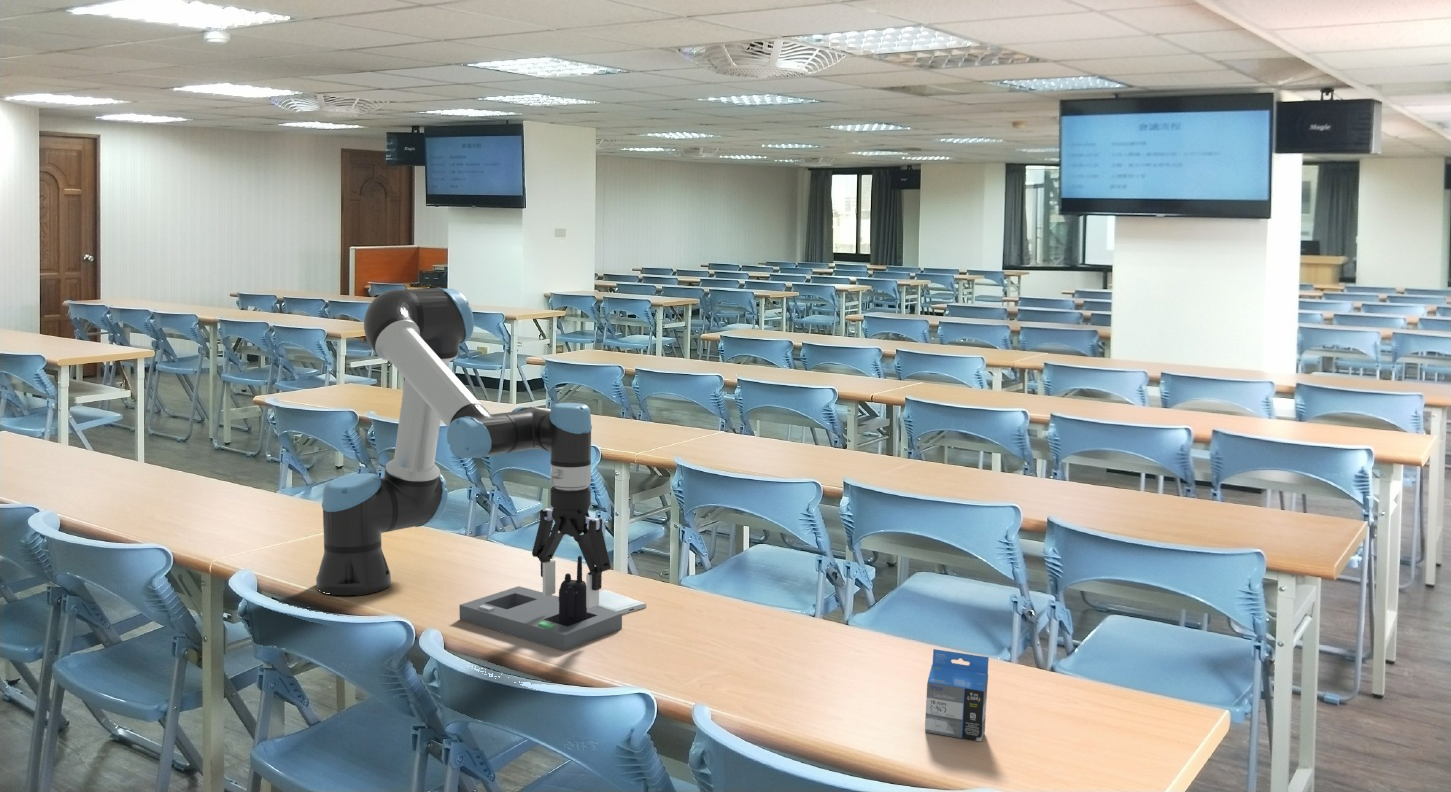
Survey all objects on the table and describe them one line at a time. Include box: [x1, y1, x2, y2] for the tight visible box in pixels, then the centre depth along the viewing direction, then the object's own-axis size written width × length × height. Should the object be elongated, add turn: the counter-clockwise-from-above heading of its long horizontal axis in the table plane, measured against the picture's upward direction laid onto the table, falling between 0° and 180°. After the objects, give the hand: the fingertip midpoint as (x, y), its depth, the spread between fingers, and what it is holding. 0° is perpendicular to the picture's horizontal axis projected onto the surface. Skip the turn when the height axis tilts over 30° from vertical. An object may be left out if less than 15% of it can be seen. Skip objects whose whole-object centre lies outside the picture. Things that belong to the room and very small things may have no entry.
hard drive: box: [596, 589, 647, 615], centre depth 246 cm, size 2×8×12 cm
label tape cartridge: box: [924, 648, 990, 742], centre depth 185 cm, size 9×4×12 cm, turn 69°
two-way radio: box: [558, 555, 587, 626], centre depth 227 cm, size 6×4×15 cm
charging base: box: [459, 585, 623, 652], centre depth 233 cm, size 28×16×3 cm, turn 54°
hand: (570, 600), depth 227 cm, fingers open, 10 cm apart
